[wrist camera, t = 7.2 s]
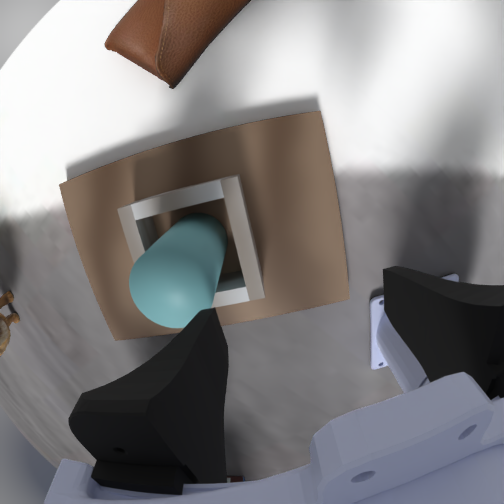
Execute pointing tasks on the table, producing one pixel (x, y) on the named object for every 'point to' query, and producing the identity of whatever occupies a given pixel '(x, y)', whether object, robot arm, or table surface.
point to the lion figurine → (6, 322)
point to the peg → (180, 271)
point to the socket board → (219, 219)
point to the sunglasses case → (170, 33)
